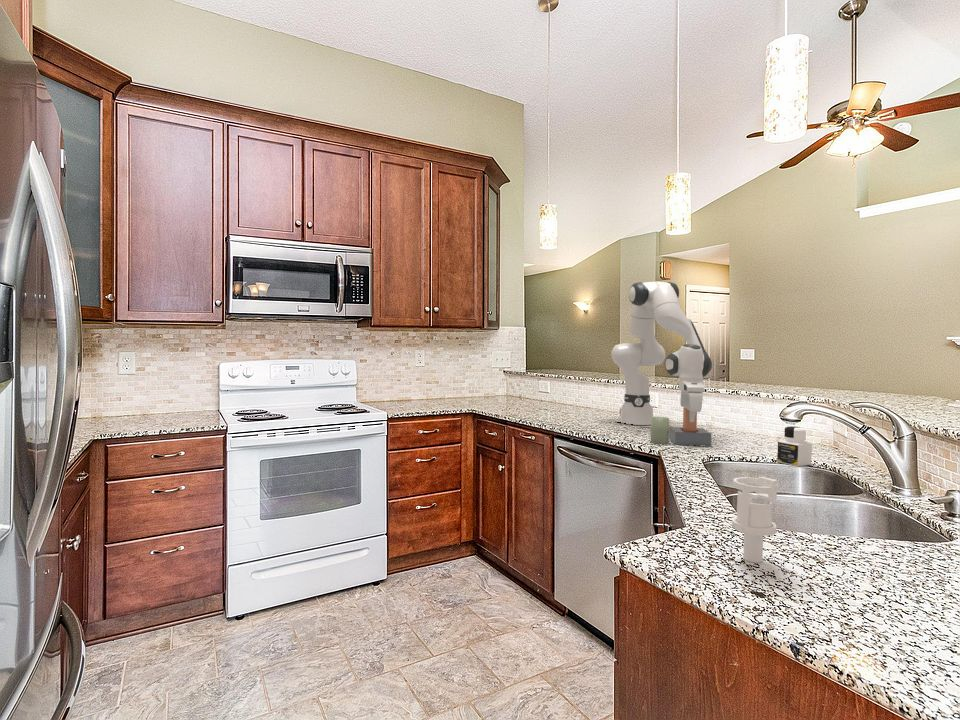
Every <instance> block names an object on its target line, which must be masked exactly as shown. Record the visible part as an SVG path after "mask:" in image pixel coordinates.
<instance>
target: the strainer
mask: <svg viewBox="0 0 960 720" xmlns="http://www.w3.org/2000/svg"><path fill="white" fill-rule="evenodd" d="M732 481H733V482H732V487H733V488H735V489H737V490H738V491H737V501H736V516H733V518H731V527H732V528H733V529H734V530H737V531H739V532H740V533H743V556H742V558H743V559H744V560H745V561H747V562H749V563H756V564H760V563H762V562H763V561H764V559H763V556H764V553H763V551H764V536H774V535H775V534H777V530H778V529H777V524H776V523H775V522H773V502H774V501H775V502H776V501H777V499H778V498H777V497H778V496H777V495H778V492H779V484H778V479H773V478H768V477H767V476H759V477H744V476H743V477H742V476H741V477H734V478H733V479H732ZM754 492H755V494H757V495H756V496H757V497H753V493H754ZM771 501H772V502H771Z"/></svg>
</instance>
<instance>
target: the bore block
mask: <svg viewBox="0 0 960 720" xmlns="http://www.w3.org/2000/svg"><path fill="white" fill-rule="evenodd" d="M669 439H670V440H671V441H670V440H669V441H670V442H672V443H673V444H674V445H675V446H688V445H705V446H704V447H712V432H710V431H708V430H707V429H705V428H703V427H697V431H683V426H681V427H680V426H678V427H677V426H669Z"/></svg>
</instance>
